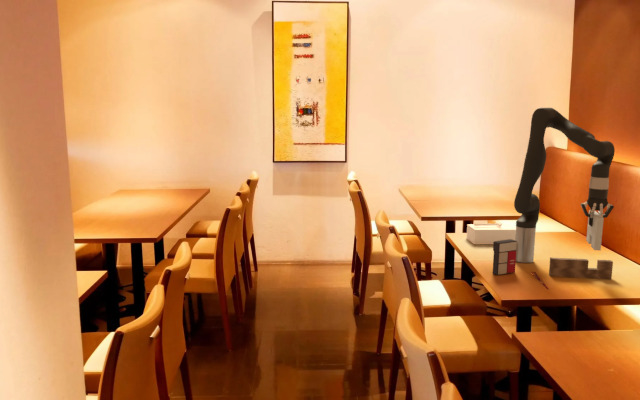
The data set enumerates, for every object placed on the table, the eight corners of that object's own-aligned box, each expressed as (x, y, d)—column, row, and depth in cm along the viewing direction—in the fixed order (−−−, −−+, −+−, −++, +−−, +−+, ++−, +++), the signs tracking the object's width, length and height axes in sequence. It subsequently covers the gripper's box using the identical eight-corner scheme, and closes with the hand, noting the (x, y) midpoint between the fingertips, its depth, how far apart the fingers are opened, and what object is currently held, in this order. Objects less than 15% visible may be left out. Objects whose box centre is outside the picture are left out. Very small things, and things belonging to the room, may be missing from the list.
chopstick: (546, 290, 247) (546, 288, 247) (530, 273, 270) (531, 271, 270) (551, 290, 247) (551, 288, 247) (535, 274, 270) (535, 272, 270)
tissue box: (518, 244, 325) (520, 225, 323) (474, 245, 324) (475, 225, 322) (509, 238, 339) (510, 220, 337) (466, 238, 338) (467, 220, 336)
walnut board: (550, 276, 266) (551, 258, 264) (548, 274, 268) (550, 257, 267) (611, 279, 262) (613, 261, 260) (609, 277, 264) (611, 260, 263)
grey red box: (498, 275, 265) (500, 243, 263) (491, 273, 269) (493, 241, 267) (516, 272, 270) (518, 241, 268) (509, 270, 274) (511, 239, 272)
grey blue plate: (600, 250, 251) (603, 218, 249) (594, 250, 252) (597, 217, 249) (592, 240, 268) (594, 210, 266) (586, 240, 269) (589, 210, 266)
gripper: (583, 187, 254) (579, 227, 256) (618, 189, 250) (614, 229, 253) (579, 185, 261) (576, 223, 264) (614, 186, 257) (610, 225, 260)
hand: (595, 226), depth 258 cm, fingers closed on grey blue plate, 2 cm apart
